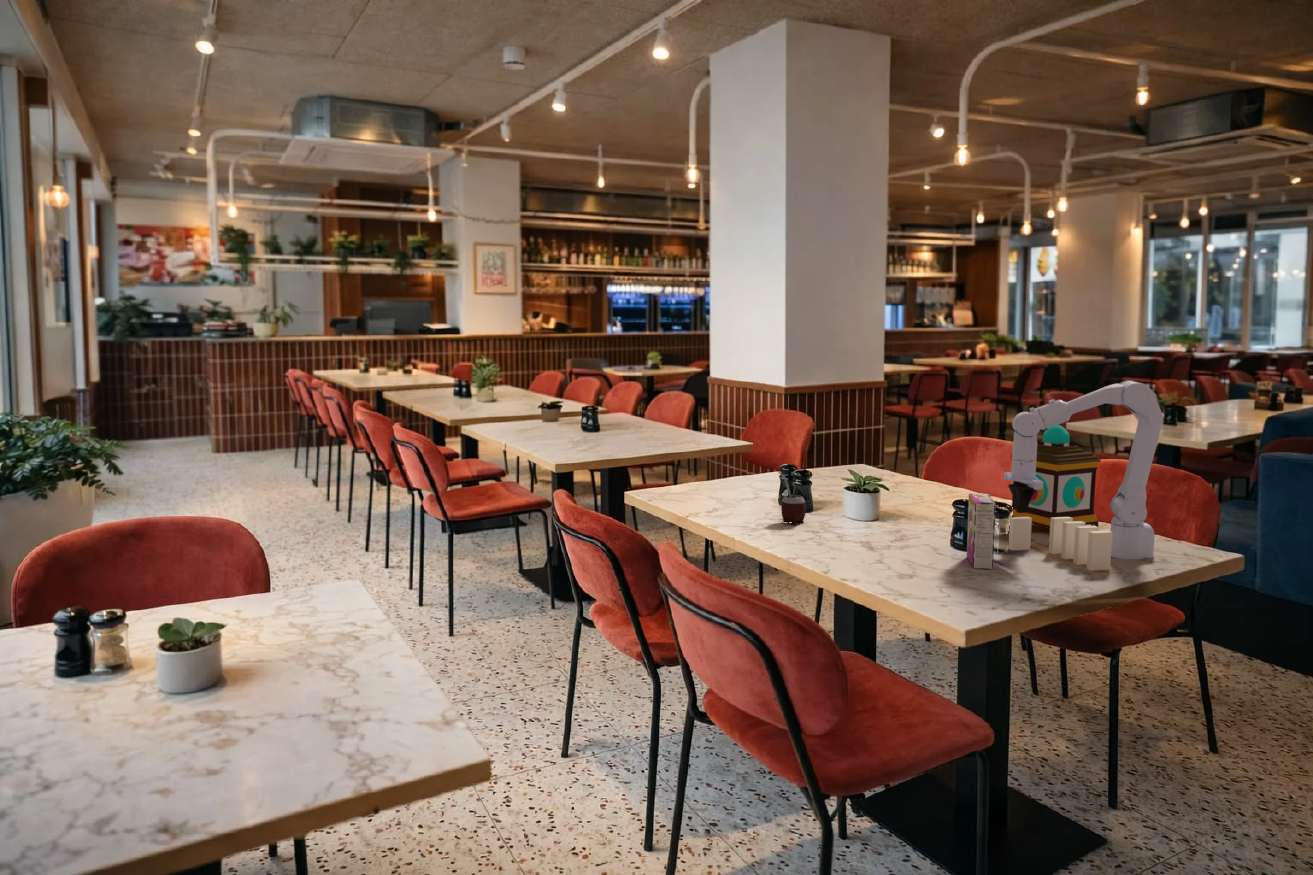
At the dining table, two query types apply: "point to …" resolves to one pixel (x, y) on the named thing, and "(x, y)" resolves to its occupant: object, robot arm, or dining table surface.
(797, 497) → the mate gourd
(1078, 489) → the decorative lantern
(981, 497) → the candy bar box
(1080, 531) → the domino
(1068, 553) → the domino
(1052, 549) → the domino
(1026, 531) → the domino
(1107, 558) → the domino
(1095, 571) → the walnut board
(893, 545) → the dining table surface
